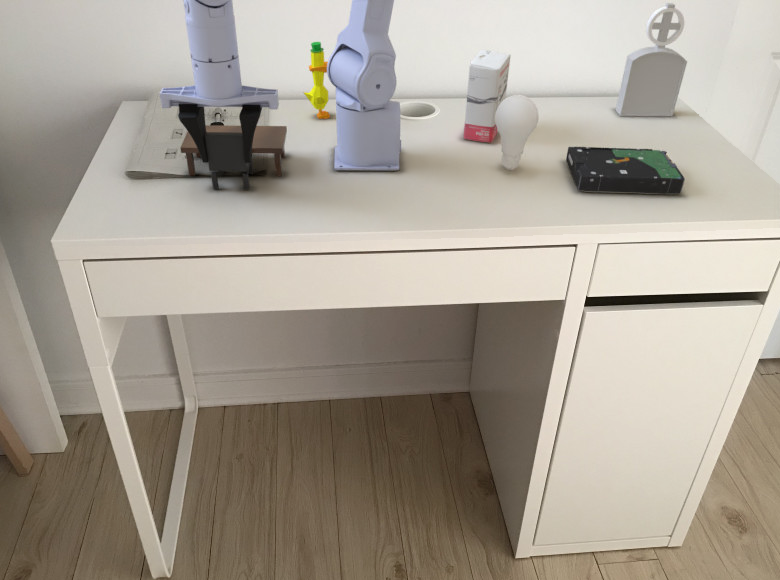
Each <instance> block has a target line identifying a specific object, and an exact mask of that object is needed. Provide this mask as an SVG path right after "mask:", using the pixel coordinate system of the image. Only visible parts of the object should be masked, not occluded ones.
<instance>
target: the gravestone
mask: <svg viewBox="0 0 780 580" xmlns="http://www.w3.org/2000/svg"><path fill="white" fill-rule="evenodd" d="M674 13H675V15H676V16H677V20H678V21H677V22H672V20H673V16H674ZM661 15H662V17H661V21H660V22H656V20H657V19H658V18H659V17H660V16H661ZM645 26H646V27H645V32H646V36H647V38H648V39H649V40H650V42H651V43H652V44H654V46H647V47H643V48H639V49H636V50H633V52H630V53H629V54H628V55H627V56H626V61H625V63H624V64H625V65H624V69H623V74H622V79H621V82H620V88H619V92H618V97H617V102H616V106H615V112H616V113H617V115H619V116H620V117H673V115H674V114H675V108H676V105H677V101H678V97H679V94H680V90H681V87H682V83H683V79H684V76H685V72H686V67H687V65H688V60H686V59H685V58H684V57H683V56H682V55H681V54H680V53H679V52H678V51H676V50H674V49H672V48H669V47H666V46H669V45H671V44H673V43H674V42H675V41H676V40H677V39H678V38H679V37H680V36H681V35H682V33H683V32H684V31H683V30H684V27H685V17H684V15H683V13H682V12H681V11H680V10H679V9H678V8H676V4H675V3H674V2H665V5H664V6H662V7H660V8H658V9H656V10H654V12H653V13H652V14H651V15H650V17H649V18H648V20H647V22H646V25H645ZM653 30H658V33H657V38H655V37H654V35H653ZM670 30H671V31H674V32H673V34H671V35H670V36H669V32H670ZM668 36H669V37H668Z"/></svg>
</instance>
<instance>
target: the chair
mask: <svg viewBox="0 0 780 580" xmlns="http://www.w3.org/2000/svg"><path fill="white" fill-rule="evenodd" d="M204 137H205V144H206V150H207V155H208V171H209V172H210V176H211V177H210V178H211V184H212V189H213V191H218V190H219V188H220V186H219V179H218V175H223V174H225V173H224V172H242V174H241V176H242V183H243V190H244V191H249V190H250V188H251V187H250V177H249V175H254V166H253V165H254V164H253V157H252V158H251V162H250V163H245V160H244V142H243V135H242V133H239V132H206V133H205V136H204Z"/></svg>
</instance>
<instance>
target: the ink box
mask: <svg viewBox="0 0 780 580" xmlns="http://www.w3.org/2000/svg"><path fill="white" fill-rule="evenodd" d="M510 65H511V53H504V52H499V51H493V50H490V49H489V50H487V49H481V50H480V51H479V52H478V53H477V54H476V55H475V56H474V58H473V59H472V60H471V61H470V65H469V68H468V79H467V92H466V102H465V103H466V105H465V114H464V125H463V126H464V127H463V139H464V140H468V141H474V142H480V143H481V142H482V143H488V144H489V143H490V144H492V143H493V142H494V140H495V137H496V136H497V134H498V133H499V131H498V129H497V126H496V123H495V113H496V110H497V108H498V106H499V104H500V103H501V102H502V101H503V100H504V99H506V98H507V97H506V95H507V88H508V81H509V80H508V79H509V71H510Z"/></svg>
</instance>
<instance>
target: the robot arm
mask: <svg viewBox="0 0 780 580" xmlns="http://www.w3.org/2000/svg"><path fill="white" fill-rule="evenodd" d="M182 2H183V9H184V19H185V26H186V33H187V40H188V47H189V55H190V61H191V67H192V74H193V81H194V85H188V86H187V85H186V86H178V87H162V88H161V90H160V92H159V93H158V94H159V99H160V105H161V109H171V108H172V107H178V114H177V116H178V120H179V122H180V123H181V125H183V127H184V128H185V129H186V131H187V132H189V134H190V135H191V137H192V138H193V140H194V142H195V144H196V146H197V148H198V150H199V153H200V155H201V157H200V158H201V161H202V163H205V164H207V163H208V155H207V150H206V144H205V137H204V136H205V133H206V125H207V124H206V115H205V108H241V110H240V112H239V115H238V118H239V123H240V126H241V129H242V135H243V142H244V160H245V163H250V162H251V158H252V159H253V153H252V143H253V137H254V132H255V129H256V126H258V123H259V120H260V117H261V113H262V110H263V108H268V109H269V110H278V109H279V104H280V102H279V101H280V99H279V90H278V89H275V88H263V87H256V86H249V85H243V84H242V74H241V66H240V65H241V64H240V56H239V47H238V37H237V27H236V19H235V15H234V13H235V11H234V6H233V5H234V3H233V0H183V1H182ZM394 3H395V0H351V5H350V12H349V18H348V23H347V25H346V26H345V28H343V29H342V30H341V31H340V32H339V33H338V35H337V37H336V42H335V43H336V44H335V46H334V49H333V51H332V53H331V54H330V56H329V58H328V60H327V62H328V63H327V73H326V75H327V78H328V80H329V82H330V83H331V85H332V86H333V87H334V88H335V116H336V117H335V118H336V119H335V120H336V145H335V146H334V161H333V162H334V164H333V169H334V170H335V171H400V153H401V152H402V139H401V103H400V101H397V100H391V99H392V97H393V96H394V94H395V92H396V89H397V75H396V71H395V64H396V63H395V62H396V59H397V54H396V50H395V48H394V46H393V44H392V40H391V39H390V35H389V30H390V25H391V19H392V13H393V9H394Z"/></svg>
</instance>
